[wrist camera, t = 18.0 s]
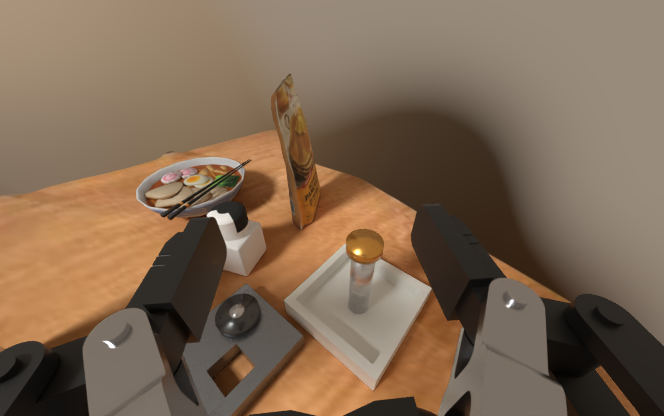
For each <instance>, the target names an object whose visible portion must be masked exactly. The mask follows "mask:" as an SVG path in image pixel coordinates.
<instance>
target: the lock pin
mask: <svg viewBox="0 0 664 416" xmlns="http://www.w3.org/2000/svg"><path fill="white" fill-rule="evenodd" d="M383 248H384V241H383V239H382V237H381V236H380V235H379V234H378V233H376V232H374V231H372V230H368V229H359V230H355V231H353V232H351V233H350V234H349V235H348V237H347V239H346V253H347V255H348V257H349V258H350V259H351V266H350V282H349V298H348V307H349V309H350V310H351V311H352V312H353V313H355V314H363V313H365V312H366V311H367V310H368V307H369V300H370V294H371V287H372V281H373V274H374V268H375V262H377V261H378V260H380V258H381V257H382V254H383Z"/></svg>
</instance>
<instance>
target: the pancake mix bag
mask: <svg viewBox="0 0 664 416" xmlns="http://www.w3.org/2000/svg"><path fill="white" fill-rule="evenodd" d="M271 109H272V115H273V120H274V123H275V126H276V129H277V133H278V136H279V139H280V143H281V149H282V154H283V158H284V161H285V164H286V171H287V179H288V187H289V197H290V204H291V211H292V220H293V222H294V224H295V225H296V226H297V227H298V228H299V229H300V230H302V228H303V227H304V226H305V225H308V224H311V222H312V221H313V219H314V215H315V211H316V208H317V204H318V201H319V197H320V185H319V181H318V177H317V172H316V167H315V162H314V157H313V153H312V148H311V143H310V138H309V135H308V132H307V125H306V121H305V118H304V115H303V112H302V109H301V106H300V103H299V100H298V98H297V94H296V92H295V89H294V86H293V81H292V77H291V74H289V75H288V76H287V77H286V79H284V80H283V81H282V82H281V84H280V85H279V87H278V88H277V90H276V91H275V92H274V94H273V95H272V97H271Z"/></svg>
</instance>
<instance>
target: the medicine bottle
mask: <svg viewBox="0 0 664 416" xmlns="http://www.w3.org/2000/svg"><path fill="white" fill-rule="evenodd" d="M207 217H214V218H215V219H216V220H217V223H218V225H219V228H220V231H221V233H222V236H223V238H224V241H225V244H226V247H227V258H226V262H225V265H224V268H223V270H226V271H229V272H233V273H236V274H240V275H243V276H248V275H249V274H250V272H251V271H252V269H253V268H254V266H255V265H256V264H257V262H258V261H259V259H260V258H261V257H262V255H263V254H264V252H265V251H266V249H267V248H266V244H265V240H264V236H263V231H262V227H261V224H260V223H258V222H254V221H250V220H248V217H247V214H246V210H245V207H244V206H243V205H242V204H241V203H239V202H235V201H227V202H223V203H220V204H217V205H215V206H214V207H212V208H211V209H210V210H209V212H208V214H207Z"/></svg>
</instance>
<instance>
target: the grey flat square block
mask: <svg viewBox="0 0 664 416" xmlns="http://www.w3.org/2000/svg"><path fill="white" fill-rule="evenodd" d="M303 345H304V338H303V335H302V334H301V333H300V332H299V331H298V330H296V329H295V328H294V327H293V326H292V325H291V324H290V323H289V322H288V321H287V320H286V319H285V318H283V317H282V316H281V315H280V314H279V313H278V312H277V311H276V310H275V309H274V308H273V307H272V306H270V305H269V304H268V303H267V302H266V301H265V300H264V299H263V298H262V297H261V296H260V295H259V294H258V293H256V292H255V291H254V290H253V289H252V288H251V287H250V286H249V285H248V284H247V283H246V284H245V285H244V286H243V287H241V288H240V289H239V290H237V291H236V292H235V293H234V294H232V295H231V296H230V297H228V298H227V299H226V300H224V301H223V302H222V303H221V304H219V305H218V306H217V307H215V308H214V309H213V310H212V311H210V312H209V315H208V318H207V321H206V324H205V327H204V330H203V334H202V337H201V340H200V342H197V343H186V346H185V349H184V352H183V356H184V358H185V360H186V363H187V365H188V368H189V370H190V373H191V375H192V378H193V380H194V383H195V385H196V388H197V390H198V393H199V395H200V398H201V400H202V403H203V405H204V407H205V409H206V411H207V413H208V415H209V416H242V414H243V413H244V412H245V411H246V410H247V409H248V408H249V407H250V405H251V404H252V403H253V402H254V401H255V400H256V399H257V397H258V396H259V395H260V394H261V393H262V392H263V391H264V390H265V388H266V387H267V386H268V385H269V384H270V383H271V382H272V380H273V379H274V378H275V377H276V376H277V375H278V374H279V373H280V371H281V370H282V369H283V368H284V367H285V366H286V365H287V363H288V362H289V361H290V360H291V359H292V358H293V357H294V356H295V354H296V353H297V352H298V351H299V350H300V349H301V348H302V346H303ZM240 352H241V353H242V354H243V355H244V356H245V357H246V359H247V360H248V361H249V362H250V363H251V365H252V366H253V367H254V368H253V369H252V370H251V371H250V372H249V374H248V375H247V376H246V377H245V378H244V379H243V380H242V381H241V382H240V383H239V384H238V385H237V386H236V387H235V388H234V389H233V390H232V391H231V392H230V393H229V394H228V395H227V396H226V397H225V396H224V394H223V393H222V391H221V390H220V389H219V387H218V386H217V384H216V383H215V381H214V380H213V379H212V378H214V377H215V376H216V375H217V374H218V373H219V372H220V371H221V370H222V369H223V368H224V367H225V366H226V365H227V364H228V363H229V362H230V361H231V360H232V359H234V358H235V357H236V356H237V355H238V354H239V353H240Z"/></svg>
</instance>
